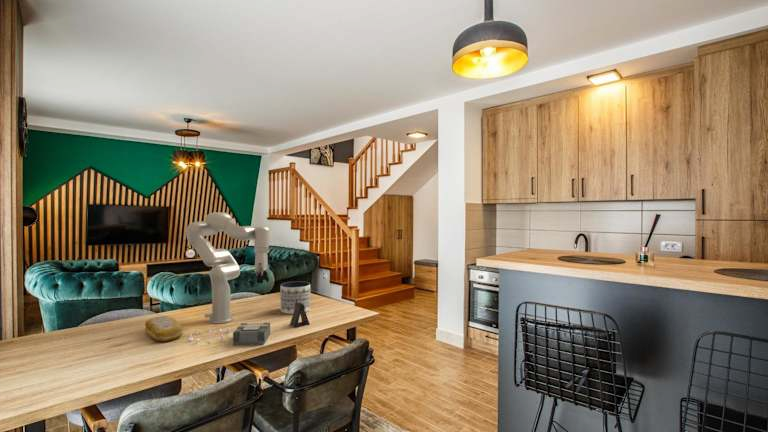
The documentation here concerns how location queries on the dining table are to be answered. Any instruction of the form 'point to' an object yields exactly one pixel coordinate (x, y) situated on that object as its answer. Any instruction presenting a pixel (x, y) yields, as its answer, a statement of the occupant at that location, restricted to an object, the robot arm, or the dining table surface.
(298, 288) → the planter
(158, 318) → the bread
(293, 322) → the dark grey a-shaped piece
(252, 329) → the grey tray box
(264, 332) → the block
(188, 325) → the dining table surface
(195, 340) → the game piece set
